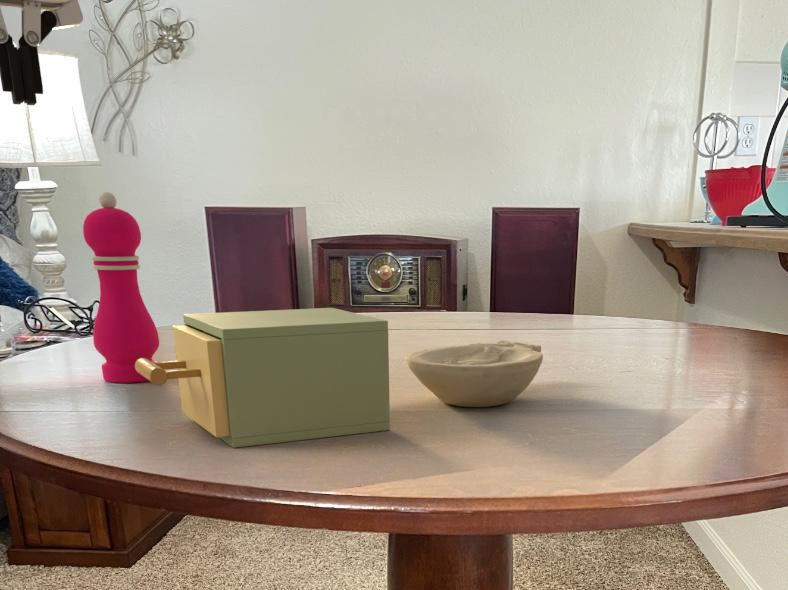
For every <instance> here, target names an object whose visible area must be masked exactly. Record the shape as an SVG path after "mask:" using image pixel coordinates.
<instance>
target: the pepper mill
mask: <svg viewBox="0 0 788 590" xmlns="http://www.w3.org/2000/svg"><path fill="white" fill-rule="evenodd" d="M98 200H99V201H98V202H99V204H100V206H101V208H97V209H95V210H92V211H91V212H89V214H88V215H87V216H86V217H85V218H84V220H83V225H82V233H83V238H84V241H85V243H86V244H87V246H88V247H89V248H90V249H91V250H92V252H93V253H94V255H93V256H91V260H92V261H93V265H92V268H93V269H94V270H96V272H97V275H98V276H97V277H98V281H99V294H100V295H99V303H98V308H97V312H96V315H95V320H94V323H93V331H92V340H93V346H94V348H95V350H96V351H97V352H98V353H99V354H100V355H101V356H102V357H103V358H104V359H105V362H103V363H102V364H101V371H102V372H101V373H102V378H103V380H104V381H105V382H109V383H116V384H130V383H131V384H135V383H136V384H137V383H145V382H150V381H149V380H148V379H147V378H145V377H144V376H142V375H141V374H140V373H138V372H137V371H136V369H135V363H136V361H137V360H138V359H140V358H145V359H148V360H149V361H151V362H157V361H156V360H154V359H153V357H154V355H155V354H156V352H157V351H158V350H159V346H160V337H159V331H158V329H157V326H156V325H155V322H154V319H153V318H152V316H151V314H150V313H149V311H148V309H147V307H146V304H145V303H144V299H143V297H142V295H141V291H140V287H139V282H138V270H139V269H140V268H141V265H140V264H139V263H140V262H139V260H140V257H139V255H136V251H137V249H138V248H139V246H140V244H141V241H142V232H141V230H140V229H141V228H140V225H139V223H138V221H137V220H136V218H135V217H134V216H133V215H131V213H129V212H128V211H125V210H123V209H120V208H118V207H116V206H117V198H116V196H115V195H114V194H113V193H111V192H109V191H104V192H102V193H101V194H100V195H99V198H98Z"/></svg>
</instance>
